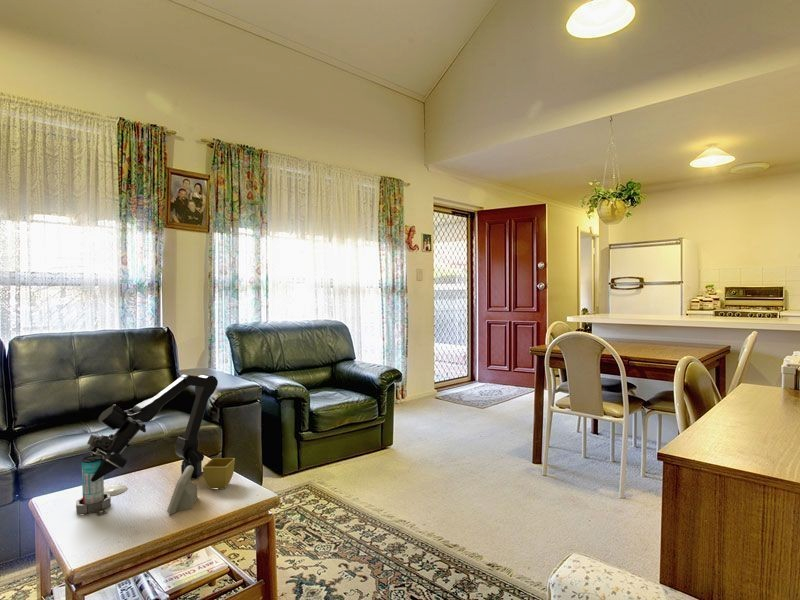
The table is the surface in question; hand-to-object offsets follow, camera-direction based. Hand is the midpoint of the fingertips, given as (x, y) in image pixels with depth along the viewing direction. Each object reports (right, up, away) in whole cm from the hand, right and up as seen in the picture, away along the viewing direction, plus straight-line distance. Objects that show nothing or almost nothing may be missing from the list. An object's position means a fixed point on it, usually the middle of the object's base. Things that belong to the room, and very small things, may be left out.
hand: (88, 478), depth 155 cm
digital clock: (+29, -10, +3) cm, 31 cm away
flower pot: (+37, -10, +17) cm, 42 cm away
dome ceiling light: (-1, -10, +15) cm, 18 cm away
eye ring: (+1, -10, +1) cm, 10 cm away
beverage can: (+1, -9, +2) cm, 9 cm away
